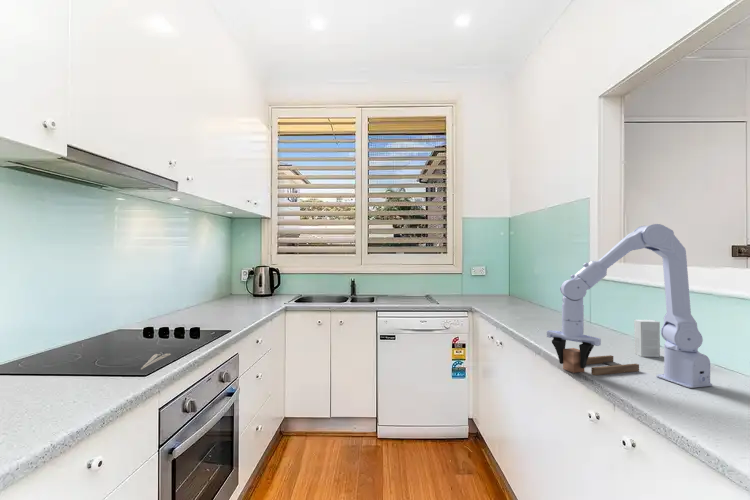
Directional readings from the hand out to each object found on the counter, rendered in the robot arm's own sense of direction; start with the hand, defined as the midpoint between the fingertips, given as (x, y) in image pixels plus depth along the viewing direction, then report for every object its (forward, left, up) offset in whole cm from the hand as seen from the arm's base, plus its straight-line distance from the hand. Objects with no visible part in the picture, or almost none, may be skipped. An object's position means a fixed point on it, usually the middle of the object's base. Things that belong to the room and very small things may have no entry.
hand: (572, 365), depth 113 cm
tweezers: (+37, +124, -2) cm, 130 cm away
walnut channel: (0, -11, -2) cm, 11 cm away
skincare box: (+8, -37, -2) cm, 38 cm away
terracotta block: (0, -1, -2) cm, 2 cm away
